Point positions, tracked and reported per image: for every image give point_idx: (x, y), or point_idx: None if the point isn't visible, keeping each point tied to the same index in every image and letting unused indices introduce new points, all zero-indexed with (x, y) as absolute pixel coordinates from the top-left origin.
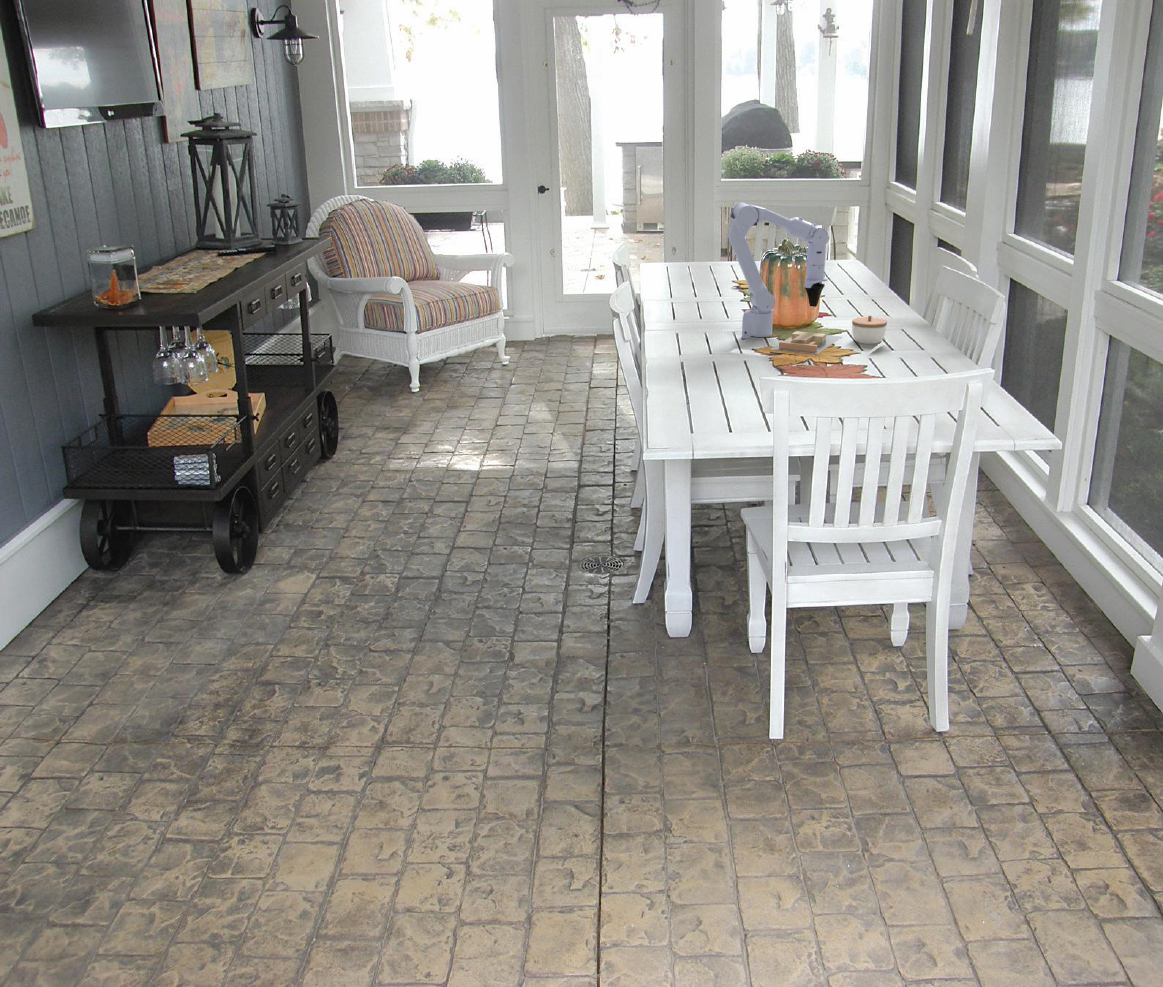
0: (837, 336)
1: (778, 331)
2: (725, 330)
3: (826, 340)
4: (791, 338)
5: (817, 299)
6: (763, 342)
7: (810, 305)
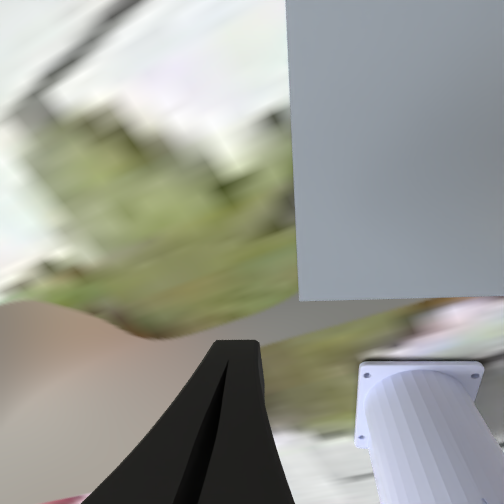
0: (293, 35)
1: None
2: (334, 498)
3: (467, 53)
4: (469, 281)
5: (248, 402)
6: (499, 368)
7: (262, 389)
